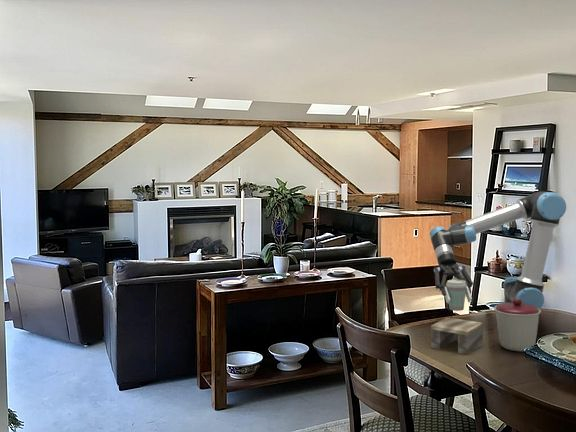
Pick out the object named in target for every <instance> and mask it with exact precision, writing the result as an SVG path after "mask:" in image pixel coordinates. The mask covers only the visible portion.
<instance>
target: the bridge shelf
mask: <svg viewBox="0 0 576 432" xmlns="http://www.w3.org/2000/svg"><path fill="white" fill-rule="evenodd" d="M483 325H484V323H483V322H479V321H472V320H467V319H466V320H465V319H460V318H455V317H454V318H453V317H445V318H443V319H441V320H439V321H437V322H435V323H433V324H431V325H430V345H431V346H430V348H433V349H437V350H441V349H442V348H445V347H447V346H448V345H449V344H451V343H453V342H454V341H457V352H458V354H463V355H467V356H468V355H470V354H471V353H472V352H474V351H475V350H477V349H479V348H481V346H483V344H484V343H483V342H484V341H483V340H484V339H483V338H484V336H483V334H484V332H483V329H484V327H483ZM456 335H457V336H456Z"/></svg>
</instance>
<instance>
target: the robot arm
mask: <svg viewBox="0 0 576 432" xmlns="http://www.w3.org/2000/svg"><path fill="white" fill-rule="evenodd" d="M566 211H567V203H566V200H565V199H564V198H563V196H561V195H560V194H558V193H556V192H551V191H537V192H536V191H535V192H533V193H532V194H529V195H527V196H525V197H521V198H520V199H517V200H516V202H514V203H513V204H512V203H511V204H509V205H506V206H504V207H500V208H498V209H495V210H493V211H489V212H487V213H484V214H482V215H479V216H476V217H473V218H470V219H468V220H467V219H466V220H464V221H462V222H459V223H453V224H452V223H451V224H450V226H449V227H448V229H446V228H445V227H444V226H435V227H432V229H431V230H430V231H429V237H430V240H431V241H430V242H431V244H432V248H433V250H434V253H435V256H436V259H437V261H436V262H437V264H438V267H437V266H434V268H433V273H434V281H435V289H436V290H439V291H441V295H442V297H444V299H445V302H446V304H449V302H450V297H449V294H448V291H447V286H446V282H447V281H446V280H447V277H450V276H451V277H454V278H456V280H464V281H465V282H466V284H467V287H466V293H465V298H466V299H467V302H468V303H471V301H472V299H473V298H472V296H471V294H472V290H471V289H472V287H473V286H474V282H473V280H472V279H471V277H470V275H469V273H468V272H467V270H466V266H465V265H462V266H459V265H458V264H457V261H456V256H455V255H454V251H453V248H452V247H454V246H458V245H459V246H460V245H465V244H470V243H474V242H476V241H477V234H480V233H483V232H485V231H489V230H491V229H494V228H497V227H501V226H503V225H506V224H508V223H512V222H515V221H517V220H520V219H525V220H527V219H530V221H531V222H532V228H531V232H530V236H529V241H528V245H527V248H526V253H525V258H524V262H523V264H522V265H523V267H522V270H521V275H520V276H511V277H510V276H508V277H505V278H504V283H503V285H504V286H503V287H504V302H503V303H508V302H513V299H515V298H519V299H521V300H522V303H526V304H531V305H533V306H536V307H537V308H539V309H540V310H541V309H542V307H543V306H544V304H545V296H544V293H543V292H544V288H545V283H544V282H543V276H544V275H543V274H544V271H545V268H546V262H547V258H548V254H549V250H550V245H551V241H552V239H553V238H552V237H553V233H554V228H556V227H558V226H559V224H560V219H561V218H562V217H564V215H565V213H566ZM440 272H441V273H442V274H443V275H442V278H441V282H440Z"/></svg>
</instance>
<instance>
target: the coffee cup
mask: <svg viewBox="0 0 576 432" xmlns="http://www.w3.org/2000/svg"><path fill="white" fill-rule="evenodd" d="M445 287H447V291H448V294H449V297H450V302H449V303H448V308H449V311H455V312H457V311H459V312H460V311H463V310H464V308H465V301H466V294H465V293H466V287H467V284H466V282H465V281H464V280H458V279H449V280H447V281H446V282H445Z"/></svg>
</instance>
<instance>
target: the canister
mask: <svg viewBox="0 0 576 432" xmlns="http://www.w3.org/2000/svg"><path fill="white" fill-rule="evenodd" d="M493 309H494V312H495V317H496V324H497V326H496V327H497V334H498V340H499V343H500V345H501V347H502V348H504V349H506V350H509V351H512V352H513V351H514V352H525V351H524V349H525V348H527V347H531V346H534V345H535V346H536V341H537V340H536V339H537V335H538V327H539V319H540V314H541V313H542V310H541V308H540V309H539V308H537V307H536V306H533V305H531V304H526V303H522V300H521V299H519V298H515V299H513V302H508V303H504V302H502V303H499V304H497V305H495V306H494V307H493ZM535 346H534V347H535Z"/></svg>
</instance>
